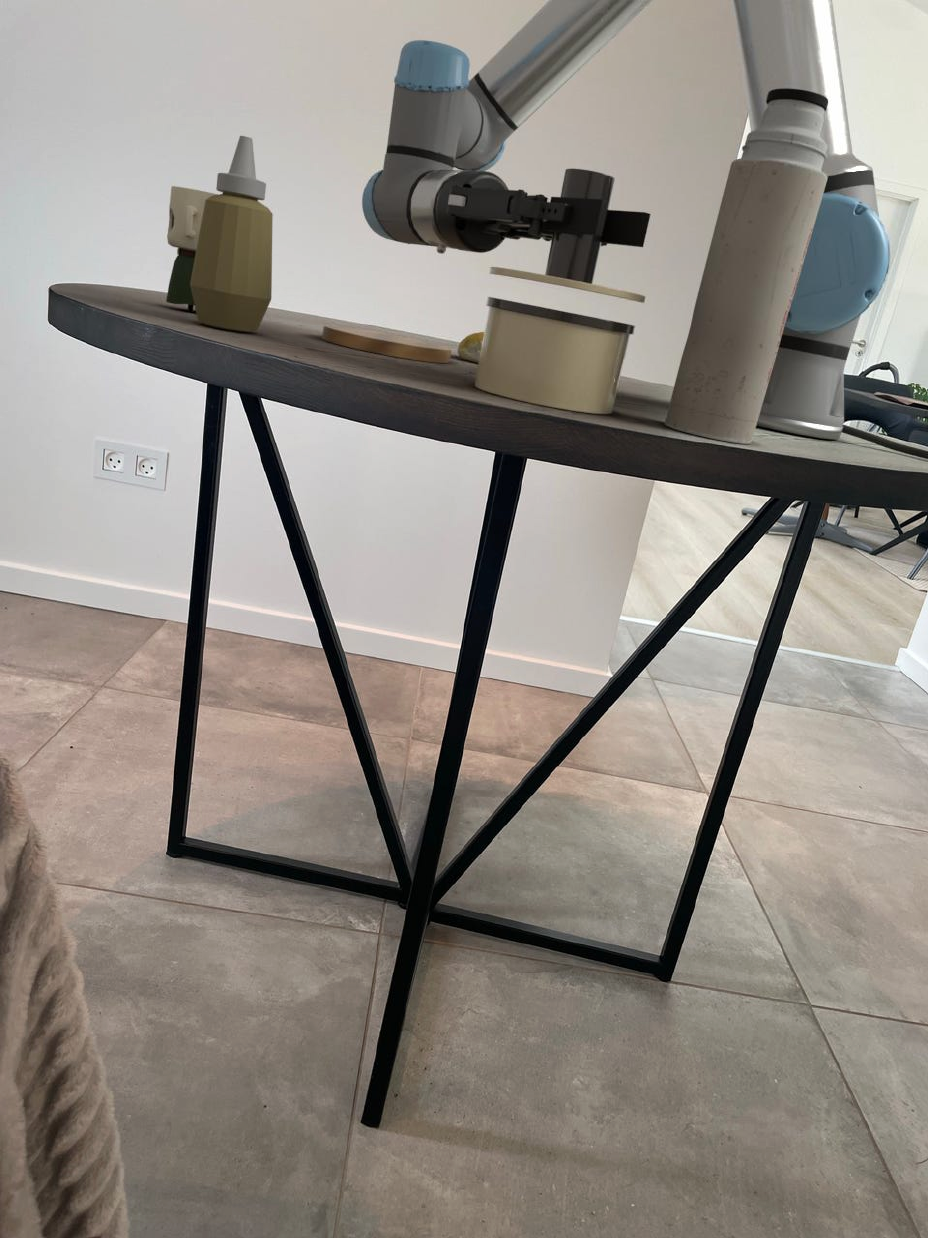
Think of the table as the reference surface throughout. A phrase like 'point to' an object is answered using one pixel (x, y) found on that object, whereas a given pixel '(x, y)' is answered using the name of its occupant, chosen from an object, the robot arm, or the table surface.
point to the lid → (575, 246)
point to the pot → (552, 357)
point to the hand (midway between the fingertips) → (622, 223)
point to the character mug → (184, 240)
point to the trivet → (386, 344)
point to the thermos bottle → (752, 270)
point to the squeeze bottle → (234, 249)
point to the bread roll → (471, 347)
